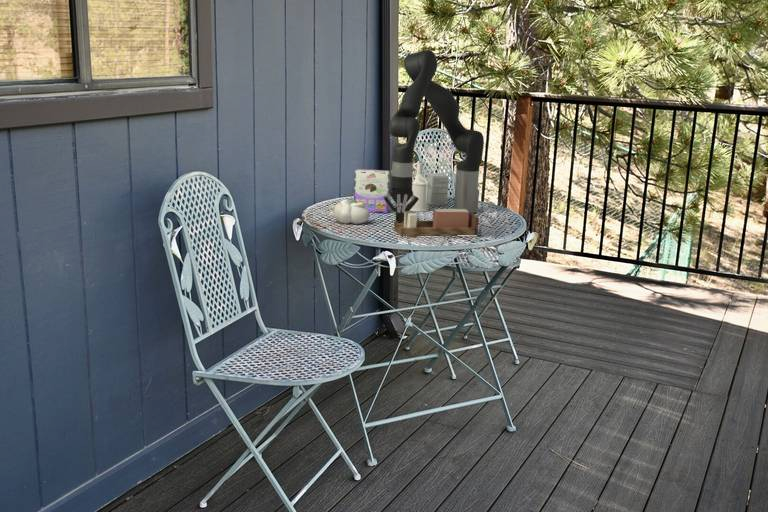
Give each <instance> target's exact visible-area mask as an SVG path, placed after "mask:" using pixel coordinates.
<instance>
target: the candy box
mask: <svg viewBox="0 0 768 512" xmlns="http://www.w3.org/2000/svg"><path fill="white" fill-rule="evenodd" d="M353 183H354V184H353V186H354V187H353V189H354V190H353V200H361V201H363V203H364V207H365V208H366V209H367V210H368V211H369V213H373V214H374V213H376V214H379V213H380V214H388V213H389V210H390V207H389V205H388V204H387V203H386V201H385V200H384V199H383V197H384V196H387V195H388V194H389V191H390V189H391V170H382V169H380V170H379V169H359V168H358V169H355V170H354V182H353ZM353 203H355V202H353Z"/></svg>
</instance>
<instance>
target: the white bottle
mask: <svg viewBox="0 0 768 512" xmlns="http://www.w3.org/2000/svg"><path fill="white" fill-rule="evenodd" d="M414 173H415V176H414V179H413V181H412V191H413V195H415V196H416V197H418V199H419V200H418V201H417V202H416V203H415V205H414V206H413V207H412V208H411V209H410V210H412V211H413V212H414V213H415V212H416V213H423V212H428V211H429V203H428V197H429V184H430V182H428V181H427V178H425V177H424V175H423V173H424V172H423V162H422V160H418V161H417V163H416V168H415V171H414ZM410 201H411V198H410V199H409V201H408V202H407V203H406V206H407V205H408V204H409V203H410Z"/></svg>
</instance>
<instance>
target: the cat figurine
mask: <svg viewBox="0 0 768 512" xmlns="http://www.w3.org/2000/svg"><path fill="white" fill-rule="evenodd" d="M351 202H352V203H351ZM351 202H350V201H349V200H348V199H345V198H344V199H342V200H341V201H340V202H338V203H337V204H332V205H330V209H331V211H329V213H328V214H329V216H330V217H333V218H334V219H335V220H336V221H337V222H339V223H342V224H345V225H346V224H352V225H360V224H361V225H362V224H363V223H366V222H367V221H368V220H369V219H370V216H371V214H370V213H371V212H369V211H368V210H367V209H366V208H365V207H364V203H363V201H361V200H354V198H353V199H351ZM354 202H355V203H354Z"/></svg>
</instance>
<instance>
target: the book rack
mask: <svg viewBox="0 0 768 512" xmlns="http://www.w3.org/2000/svg"><path fill="white" fill-rule="evenodd" d="M468 212H469V220H468V228H432V226H433V220H417V223H416V228H405V227H404V221H402V223H398V222H397V221H396V219H394V221H393V230H394V231H395V233H396V234H398V235H400V236H402V237H401V238H418V237H417V236H457V235H478V234H479V225H480V224H479V222H480V218H479V217H478V216H477V215H475V213H471V212H470V211H468ZM400 236H399V237H400ZM403 236H405V237H403ZM406 236H407V237H406ZM478 236H479V235H478Z"/></svg>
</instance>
